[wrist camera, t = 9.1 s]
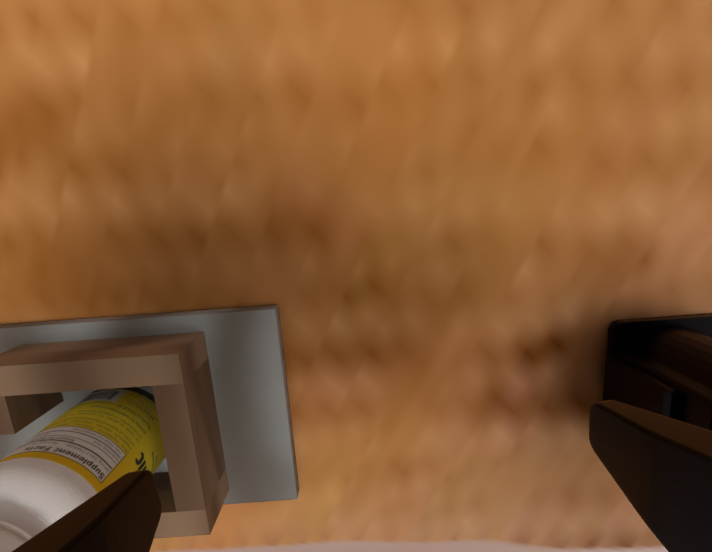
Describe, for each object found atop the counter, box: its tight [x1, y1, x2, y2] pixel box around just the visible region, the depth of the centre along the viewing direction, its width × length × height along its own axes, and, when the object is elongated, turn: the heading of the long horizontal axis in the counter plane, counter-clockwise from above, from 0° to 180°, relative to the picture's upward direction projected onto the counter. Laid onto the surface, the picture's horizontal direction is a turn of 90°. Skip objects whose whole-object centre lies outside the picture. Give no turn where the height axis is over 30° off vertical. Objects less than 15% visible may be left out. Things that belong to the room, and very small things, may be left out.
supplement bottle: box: [0, 386, 166, 552], centre depth 16 cm, size 5×5×10 cm
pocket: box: [0, 305, 299, 538], centre depth 19 cm, size 18×12×4 cm, turn 94°
